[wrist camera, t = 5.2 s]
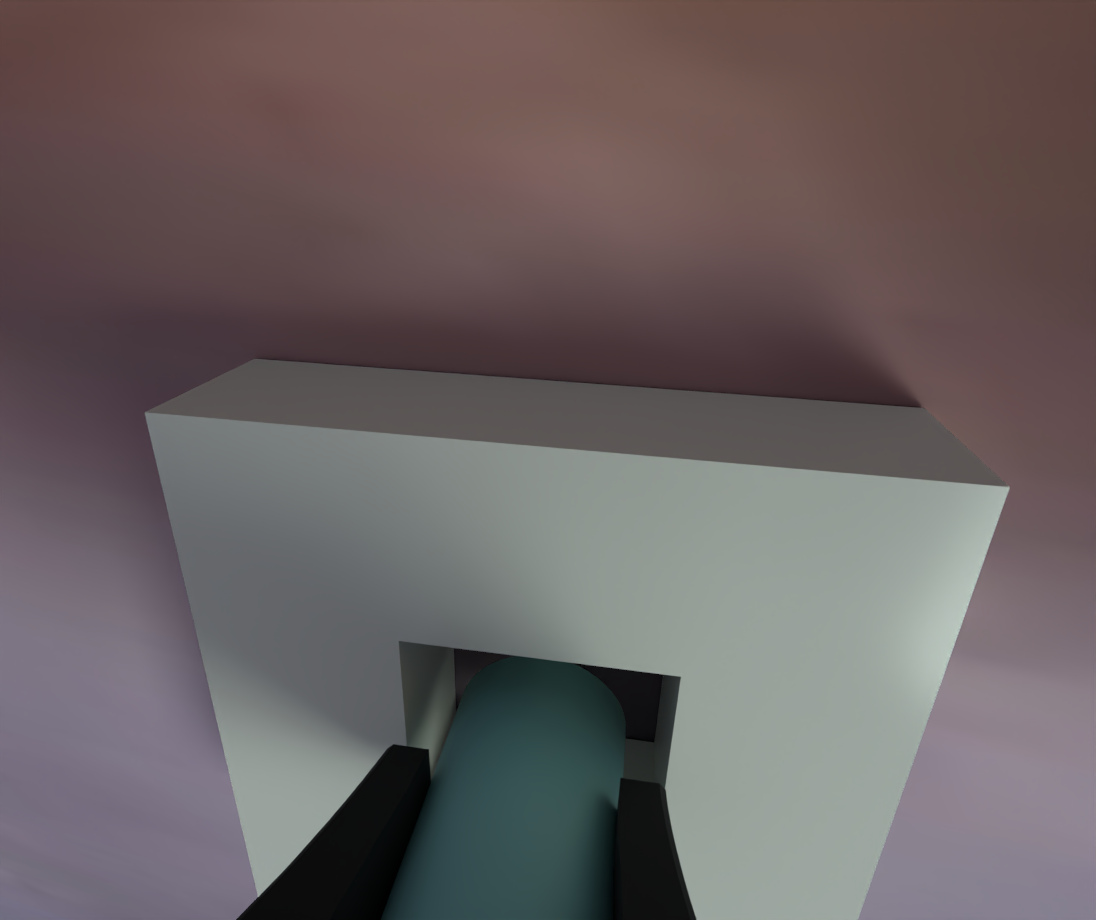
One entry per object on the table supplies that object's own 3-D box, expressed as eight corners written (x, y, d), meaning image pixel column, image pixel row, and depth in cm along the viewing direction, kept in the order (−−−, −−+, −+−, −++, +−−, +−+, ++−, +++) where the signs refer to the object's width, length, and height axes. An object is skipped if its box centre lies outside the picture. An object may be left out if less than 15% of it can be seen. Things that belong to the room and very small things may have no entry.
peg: (642, 679, 12) (624, 1260, 6) (606, 797, 13) (559, 1371, 7) (470, 638, 12) (267, 1154, 6) (452, 759, 14) (273, 1281, 7)
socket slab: (924, 407, 11) (1010, 487, 8) (794, 877, 16) (821, 1021, 13) (254, 358, 13) (144, 412, 10) (323, 801, 18) (262, 917, 15)
